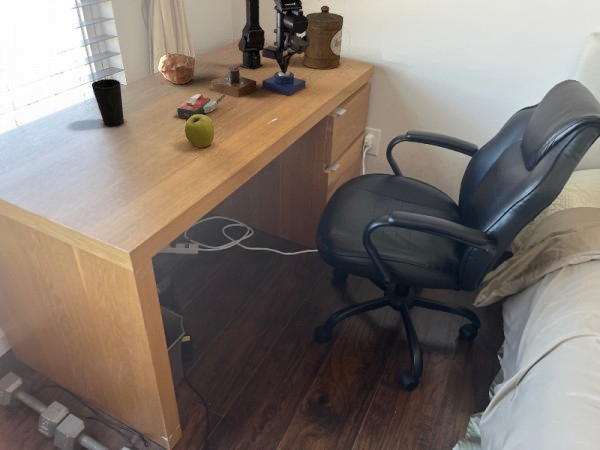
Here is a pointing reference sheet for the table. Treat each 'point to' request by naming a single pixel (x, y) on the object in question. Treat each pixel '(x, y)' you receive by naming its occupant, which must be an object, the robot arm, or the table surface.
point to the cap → (284, 74)
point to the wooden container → (323, 39)
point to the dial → (233, 75)
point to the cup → (109, 101)
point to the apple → (199, 130)
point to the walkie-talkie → (197, 106)
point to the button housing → (284, 84)
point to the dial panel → (234, 86)
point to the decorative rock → (177, 67)
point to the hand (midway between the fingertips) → (284, 73)
